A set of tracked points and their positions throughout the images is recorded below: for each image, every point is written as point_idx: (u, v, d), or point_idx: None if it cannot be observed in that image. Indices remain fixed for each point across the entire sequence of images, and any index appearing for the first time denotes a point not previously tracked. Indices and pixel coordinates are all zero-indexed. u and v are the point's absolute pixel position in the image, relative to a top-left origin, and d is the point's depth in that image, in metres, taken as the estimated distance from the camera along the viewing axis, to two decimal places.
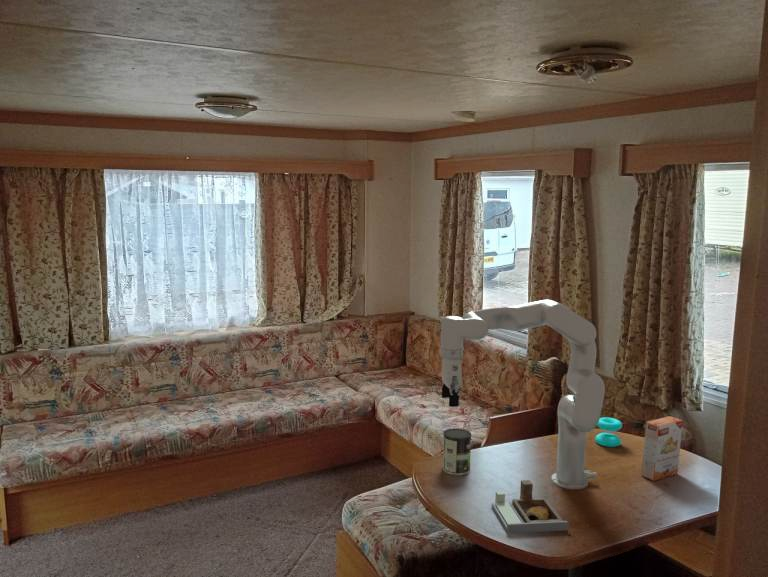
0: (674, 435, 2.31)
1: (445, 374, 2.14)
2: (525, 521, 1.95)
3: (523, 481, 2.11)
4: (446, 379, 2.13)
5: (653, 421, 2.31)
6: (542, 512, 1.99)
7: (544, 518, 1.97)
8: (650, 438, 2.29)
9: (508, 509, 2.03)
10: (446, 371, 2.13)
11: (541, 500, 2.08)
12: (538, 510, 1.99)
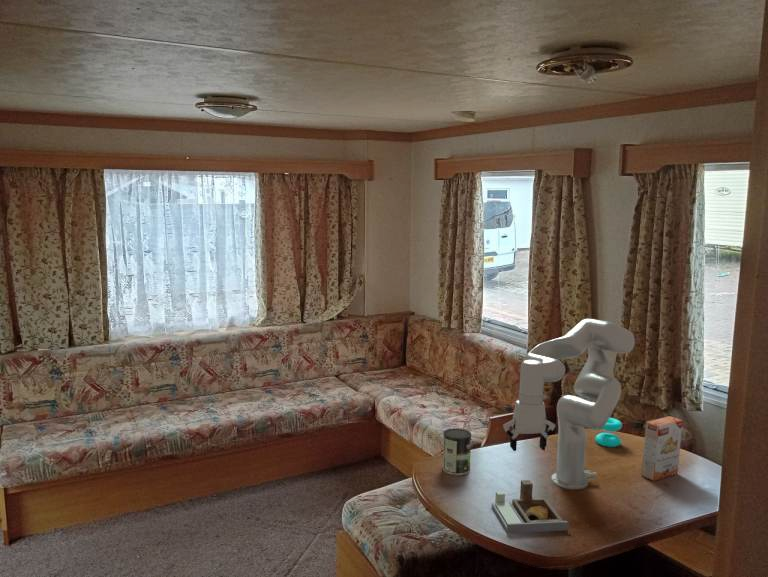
0: (674, 435, 2.31)
1: (537, 421, 2.05)
2: (525, 521, 1.95)
3: (523, 481, 2.11)
4: (540, 425, 2.05)
5: (653, 421, 2.31)
6: (542, 512, 1.99)
7: (544, 518, 1.97)
8: (650, 438, 2.29)
9: (508, 509, 2.03)
10: (540, 417, 2.05)
11: (541, 500, 2.08)
12: (538, 510, 2.00)
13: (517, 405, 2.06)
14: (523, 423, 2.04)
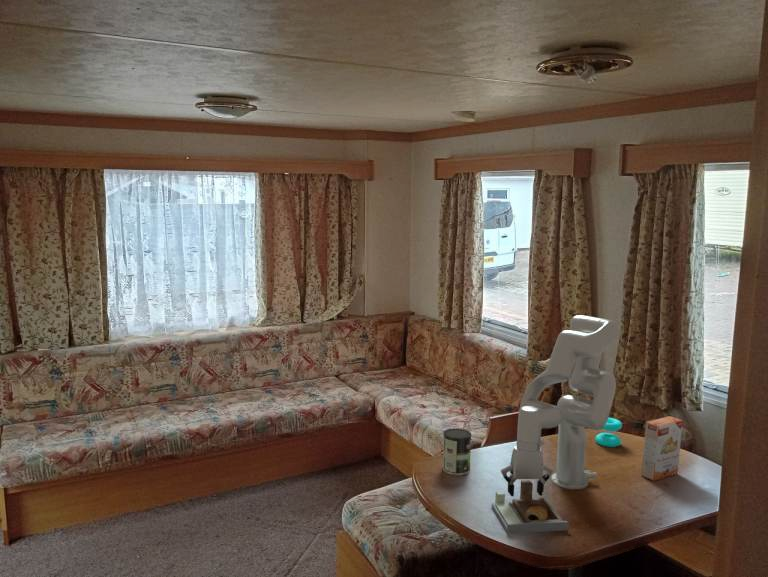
0: (674, 435, 2.31)
1: (535, 467, 2.07)
2: (525, 521, 1.95)
3: (523, 481, 2.11)
4: (537, 471, 2.07)
5: (653, 421, 2.31)
6: (542, 511, 1.99)
7: (544, 517, 1.98)
8: (650, 438, 2.29)
9: (508, 509, 2.03)
10: (538, 463, 2.07)
11: (541, 500, 2.08)
12: (538, 510, 2.00)
13: (514, 451, 2.08)
14: (521, 469, 2.06)
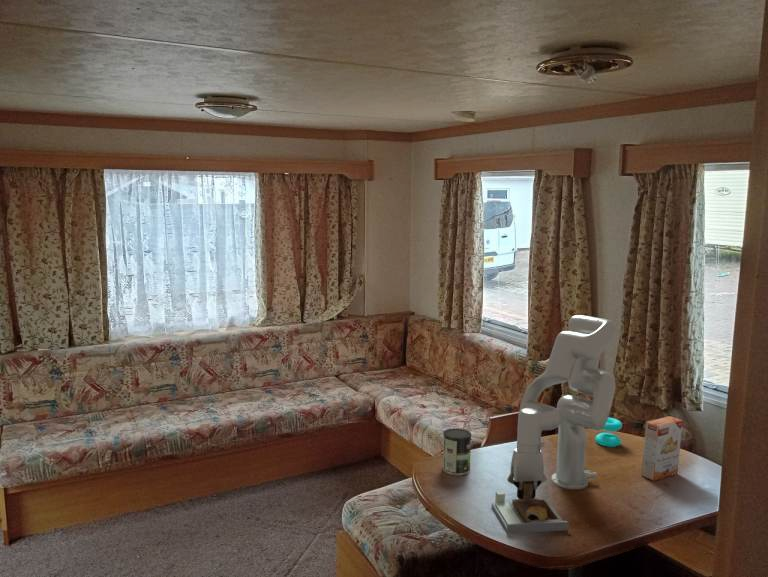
0: (674, 434, 2.31)
1: (535, 469, 2.07)
2: (525, 521, 1.95)
3: (523, 481, 2.11)
4: (538, 473, 2.08)
5: (653, 421, 2.31)
6: (542, 511, 1.99)
7: (544, 517, 1.98)
8: (650, 438, 2.29)
9: (508, 509, 2.03)
10: (538, 465, 2.07)
11: (541, 500, 2.08)
12: (537, 509, 2.00)
13: (514, 454, 2.08)
14: (521, 471, 2.07)
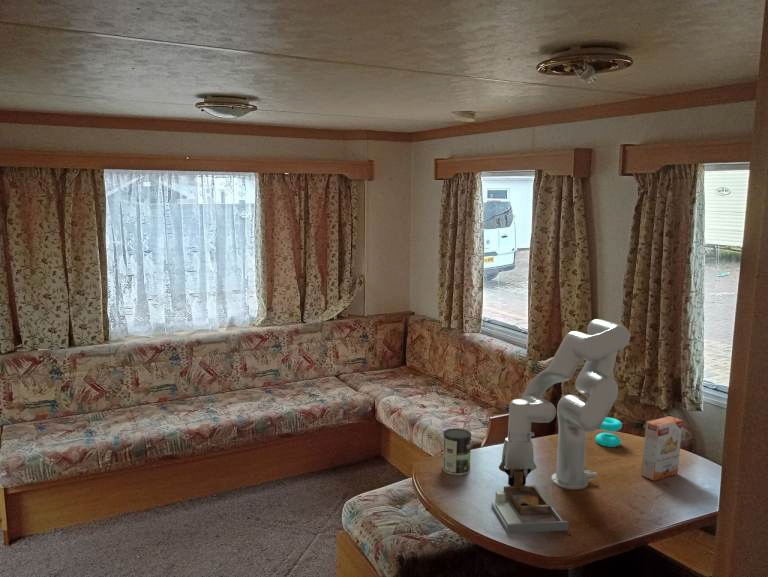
0: (674, 435, 2.31)
1: (525, 457, 2.16)
2: (515, 506, 2.04)
3: (514, 469, 2.20)
4: (528, 461, 2.17)
5: (653, 421, 2.31)
6: (533, 500, 2.07)
7: None
8: (650, 438, 2.29)
9: (508, 509, 2.03)
10: (528, 454, 2.16)
11: (531, 487, 2.17)
12: (529, 498, 2.07)
13: (506, 443, 2.17)
14: (512, 459, 2.16)
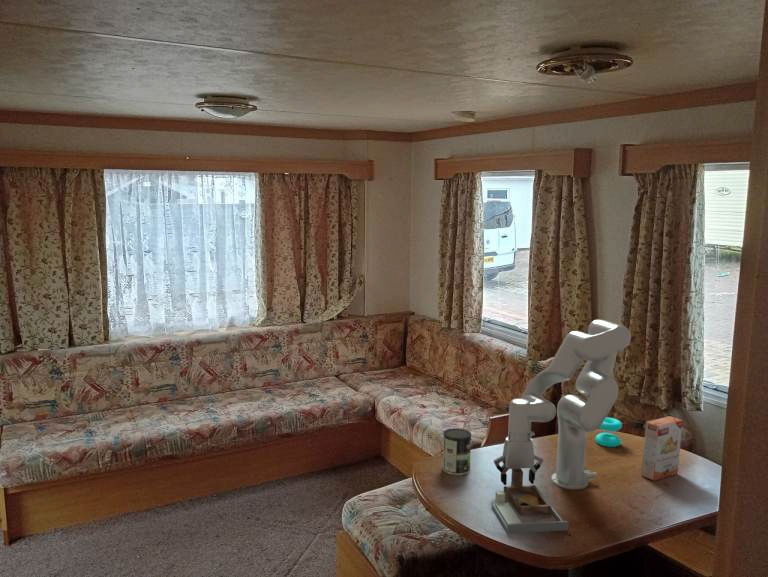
0: (674, 435, 2.31)
1: (526, 457, 2.17)
2: (515, 506, 2.05)
3: (514, 469, 2.20)
4: (528, 461, 2.17)
5: (653, 421, 2.31)
6: (533, 500, 2.07)
7: None
8: (650, 438, 2.29)
9: (508, 509, 2.03)
10: (529, 453, 2.17)
11: (531, 487, 2.17)
12: (529, 498, 2.07)
13: (506, 442, 2.17)
14: (512, 459, 2.16)
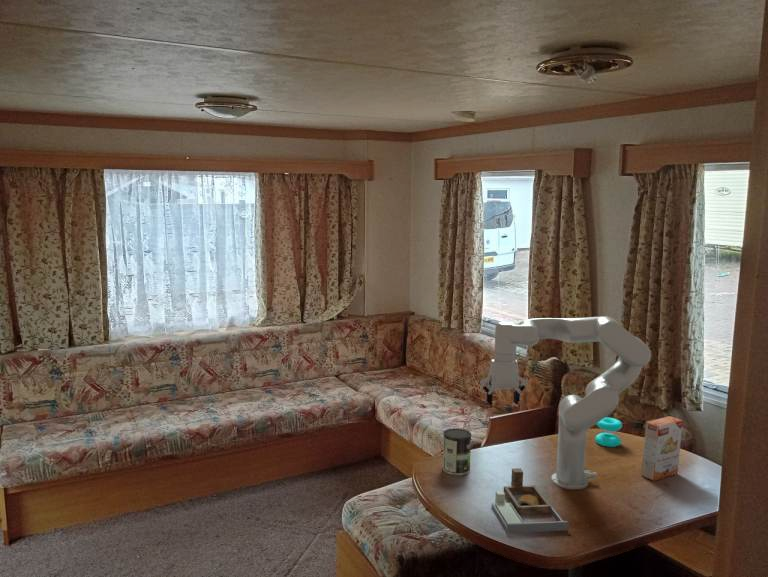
0: (674, 435, 2.31)
1: (511, 377, 2.24)
2: (515, 506, 2.04)
3: (514, 469, 2.20)
4: (513, 381, 2.24)
5: (653, 421, 2.31)
6: (533, 500, 2.07)
7: None
8: (650, 438, 2.29)
9: (508, 509, 2.03)
10: (514, 374, 2.24)
11: (531, 487, 2.17)
12: (529, 498, 2.08)
13: (492, 363, 2.24)
14: (498, 379, 2.23)
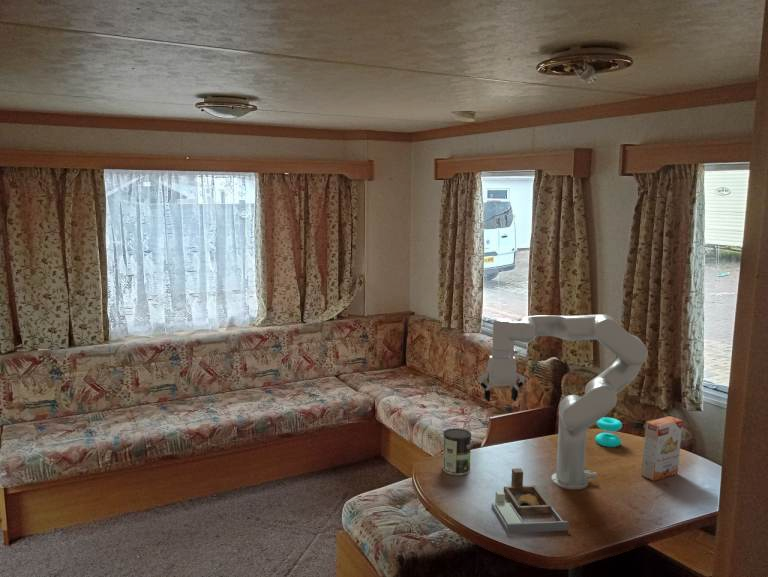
0: (674, 435, 2.31)
1: (508, 374, 2.25)
2: (515, 506, 2.04)
3: (514, 469, 2.20)
4: (511, 378, 2.25)
5: (653, 421, 2.31)
6: (533, 499, 2.07)
7: None
8: (650, 438, 2.29)
9: (508, 509, 2.03)
10: (511, 370, 2.25)
11: (531, 487, 2.17)
12: (529, 498, 2.08)
13: (490, 360, 2.26)
14: (496, 376, 2.24)
